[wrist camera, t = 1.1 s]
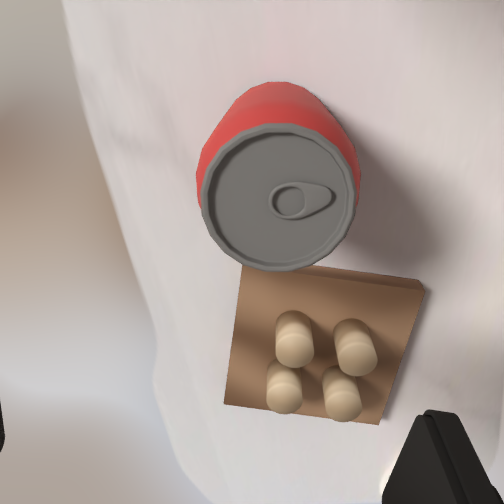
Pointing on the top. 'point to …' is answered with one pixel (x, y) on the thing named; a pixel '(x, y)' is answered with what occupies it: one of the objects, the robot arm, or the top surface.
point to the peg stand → (320, 341)
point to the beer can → (278, 179)
